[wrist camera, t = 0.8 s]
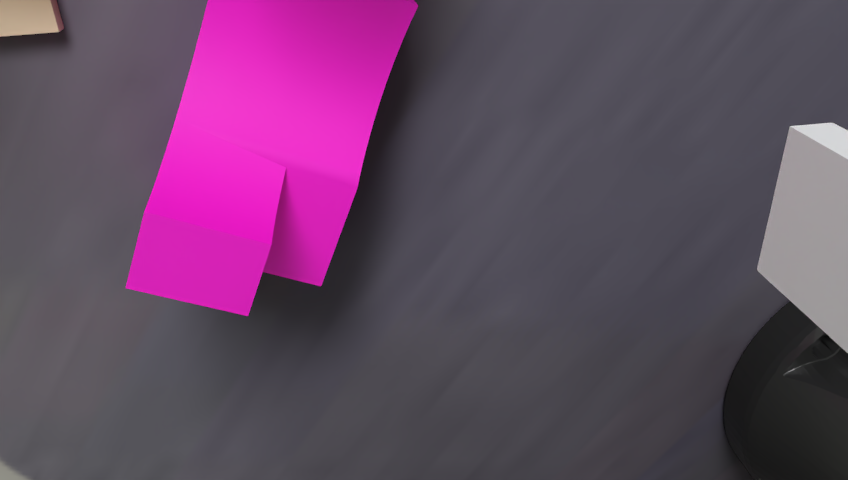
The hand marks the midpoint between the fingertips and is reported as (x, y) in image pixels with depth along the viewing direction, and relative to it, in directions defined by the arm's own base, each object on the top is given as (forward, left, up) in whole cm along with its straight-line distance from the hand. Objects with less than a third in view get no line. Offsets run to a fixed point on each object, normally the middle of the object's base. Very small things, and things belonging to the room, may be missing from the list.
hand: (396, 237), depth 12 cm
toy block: (0, +2, -18) cm, 18 cm away
